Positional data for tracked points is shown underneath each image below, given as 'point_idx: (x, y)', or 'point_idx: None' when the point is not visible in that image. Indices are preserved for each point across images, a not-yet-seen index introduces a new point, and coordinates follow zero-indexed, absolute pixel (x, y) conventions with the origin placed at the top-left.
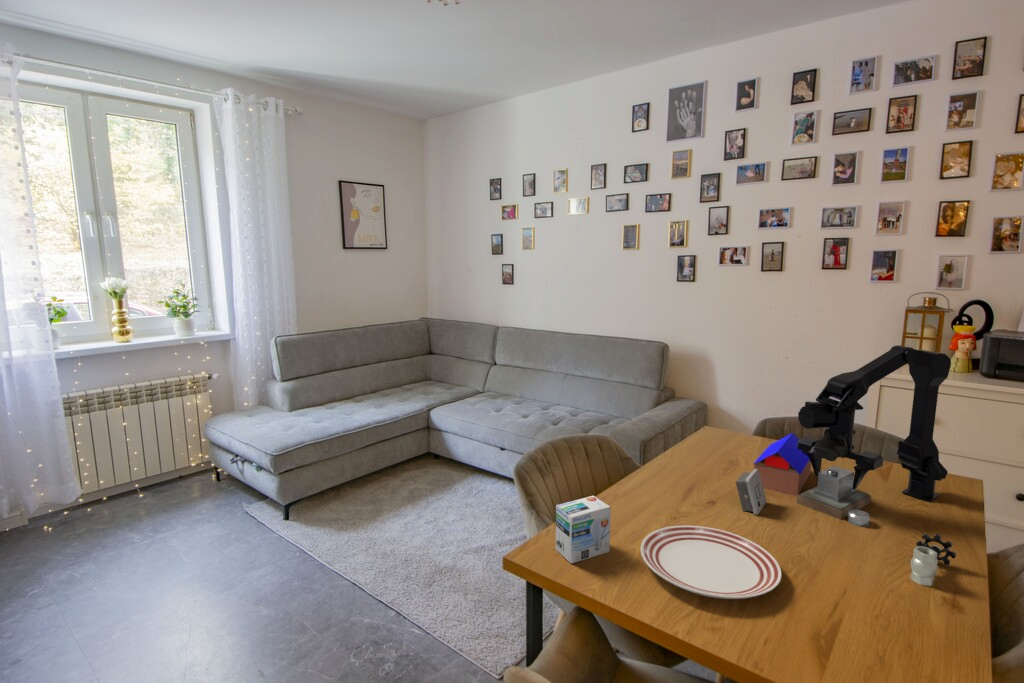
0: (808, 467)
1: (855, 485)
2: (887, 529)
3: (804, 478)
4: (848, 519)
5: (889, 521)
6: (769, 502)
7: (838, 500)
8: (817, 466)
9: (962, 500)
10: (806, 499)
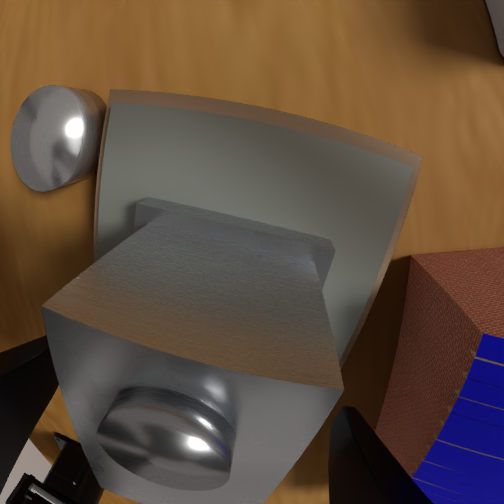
0: None
1: (28, 342)
2: (3, 166)
3: (391, 424)
4: (97, 101)
5: (19, 249)
6: (493, 75)
7: (142, 201)
8: (361, 491)
9: (45, 450)
10: (357, 133)
